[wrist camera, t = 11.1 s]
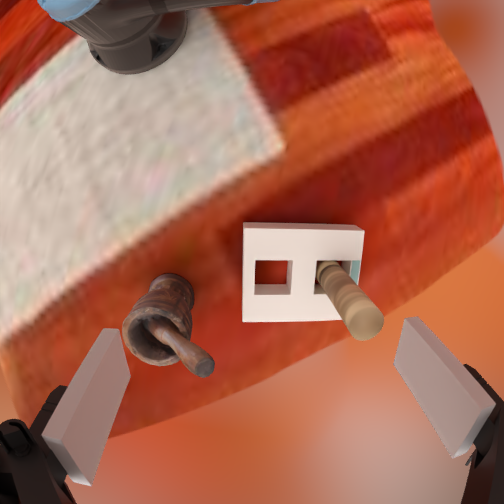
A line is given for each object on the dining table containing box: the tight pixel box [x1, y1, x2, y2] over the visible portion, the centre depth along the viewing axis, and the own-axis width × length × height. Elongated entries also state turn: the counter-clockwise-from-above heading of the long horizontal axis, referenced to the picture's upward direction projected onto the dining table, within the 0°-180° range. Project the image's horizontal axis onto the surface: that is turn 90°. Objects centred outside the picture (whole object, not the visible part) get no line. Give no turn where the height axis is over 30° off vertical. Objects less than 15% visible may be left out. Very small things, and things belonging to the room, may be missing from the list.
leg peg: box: [315, 260, 384, 340], centre depth 41 cm, size 4×4×18 cm
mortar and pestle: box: [122, 274, 215, 378], centre depth 40 cm, size 12×9×20 cm
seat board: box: [242, 222, 365, 322], centre depth 47 cm, size 14×17×4 cm
